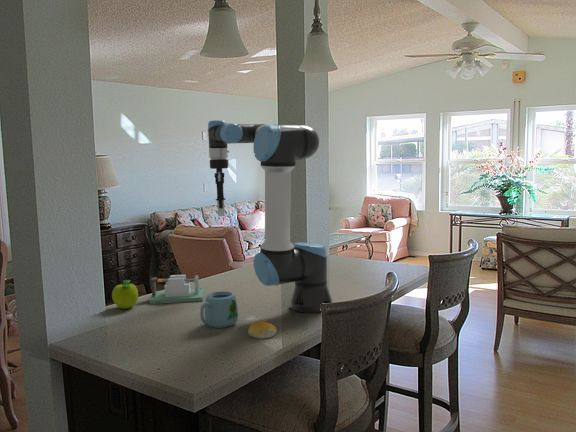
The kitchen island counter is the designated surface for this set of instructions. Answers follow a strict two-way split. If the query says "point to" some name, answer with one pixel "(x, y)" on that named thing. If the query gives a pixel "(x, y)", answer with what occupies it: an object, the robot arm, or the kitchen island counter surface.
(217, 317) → the mug
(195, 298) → the heatsink board
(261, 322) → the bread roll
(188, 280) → the wooden stick
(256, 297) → the kitchen island counter surface
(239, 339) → the kitchen island counter surface
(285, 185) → the robot arm
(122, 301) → the fruit
